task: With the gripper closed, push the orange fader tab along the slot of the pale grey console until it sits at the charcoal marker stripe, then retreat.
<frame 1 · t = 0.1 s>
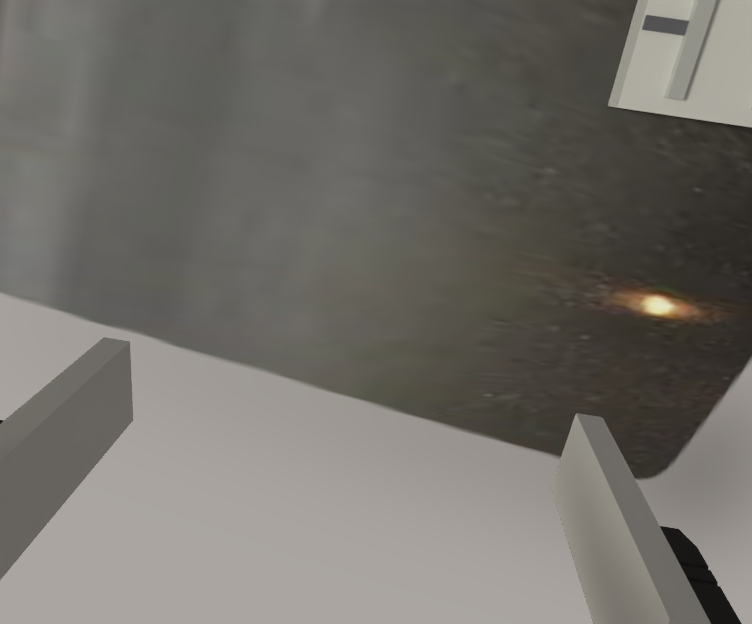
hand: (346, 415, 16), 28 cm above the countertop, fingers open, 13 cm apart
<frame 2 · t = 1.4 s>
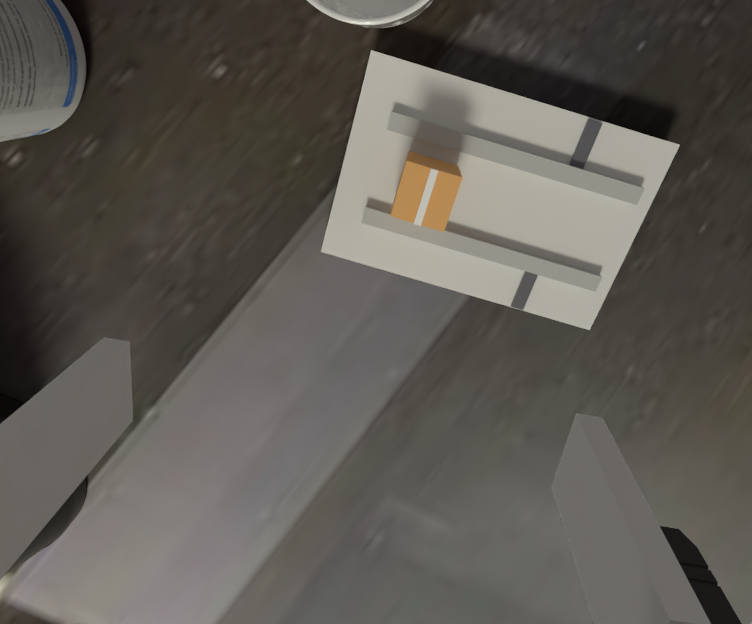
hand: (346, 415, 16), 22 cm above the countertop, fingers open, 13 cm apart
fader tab: (425, 190, 31), point 4 cm above the countertop, slide at -4.0 cm
console: (485, 194, 35), on the countertop
supplement tub: (18, 54, 34), on the countertop
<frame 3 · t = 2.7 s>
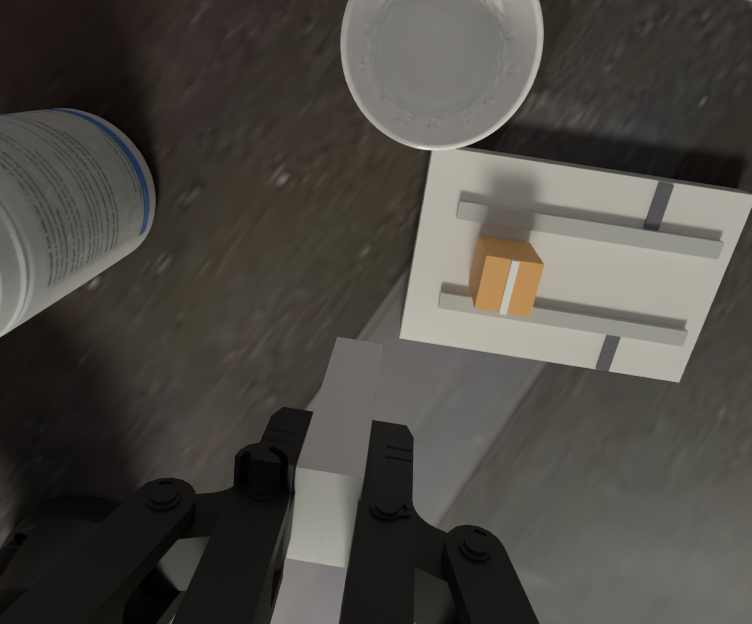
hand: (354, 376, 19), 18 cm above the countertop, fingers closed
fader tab: (503, 275, 31), point 4 cm above the countertop, slide at -4.0 cm
white cup: (434, 54, 31), on the countertop
console: (556, 261, 35), on the countertop
supplement tub: (89, 187, 36), on the countertop
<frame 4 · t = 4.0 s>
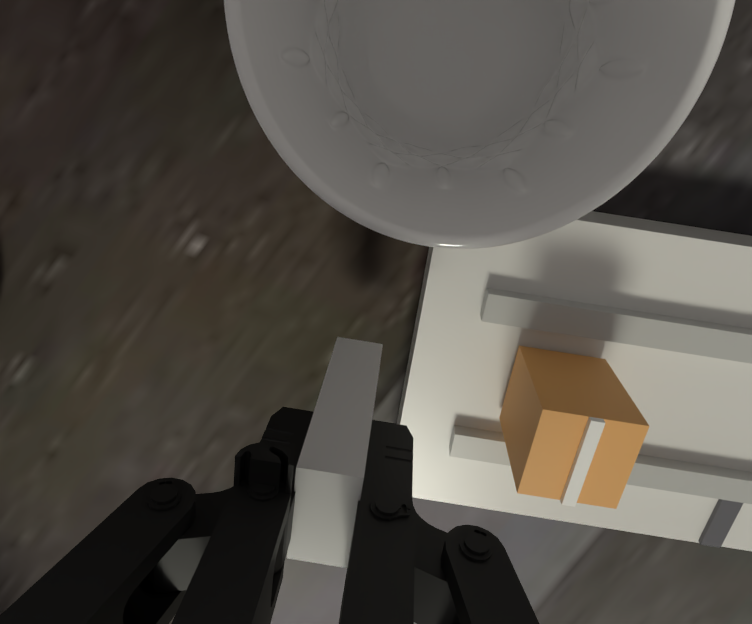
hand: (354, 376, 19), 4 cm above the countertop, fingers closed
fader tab: (564, 423, 18), point 4 cm above the countertop, slide at -4.0 cm
white cup: (444, 41, 18), on the countertop
console: (638, 375, 22), on the countertop
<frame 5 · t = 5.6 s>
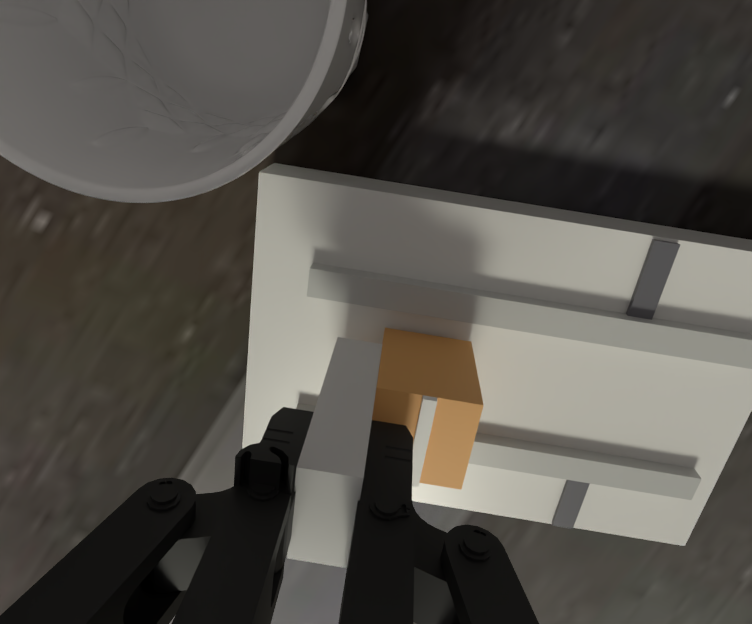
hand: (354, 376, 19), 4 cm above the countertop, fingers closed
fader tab: (420, 404, 18), point 4 cm above the countertop, slide at -2.7 cm, touching gripper
white cup: (264, 13, 18), on the countertop
console: (490, 354, 22), on the countertop
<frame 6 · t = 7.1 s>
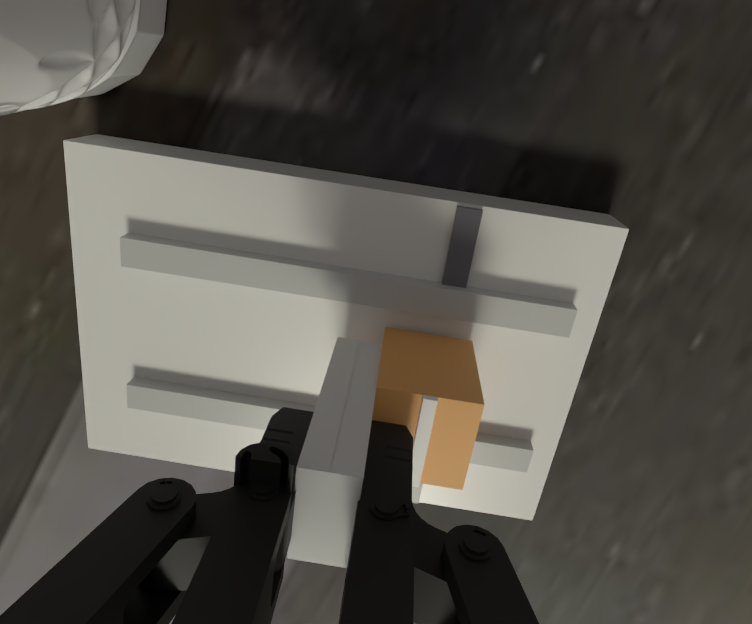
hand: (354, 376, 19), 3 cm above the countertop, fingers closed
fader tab: (421, 404, 18), point 4 cm above the countertop, slide at 3.5 cm, touching gripper
console: (332, 328, 22), on the countertop
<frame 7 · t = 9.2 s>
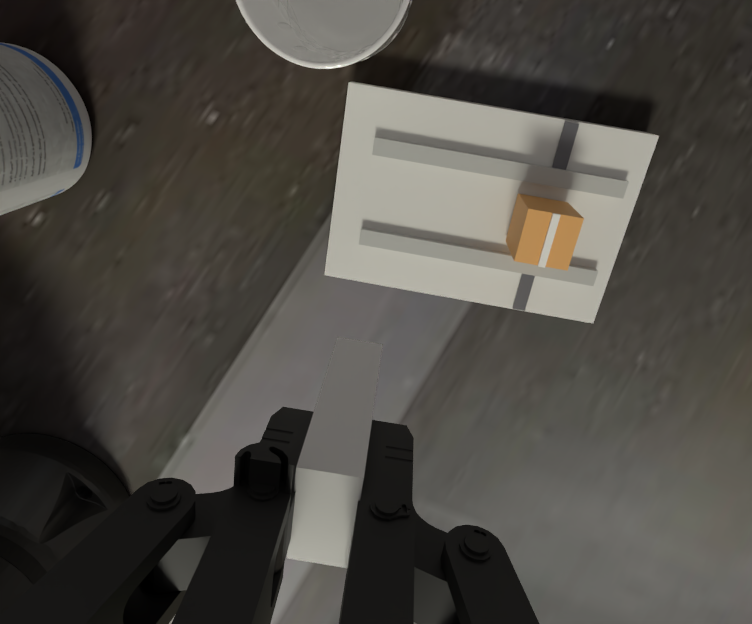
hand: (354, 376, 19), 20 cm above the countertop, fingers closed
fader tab: (542, 231, 32), point 4 cm above the countertop, slide at 3.5 cm
console: (476, 203, 36), on the countertop
supplement tub: (30, 124, 37), on the countertop
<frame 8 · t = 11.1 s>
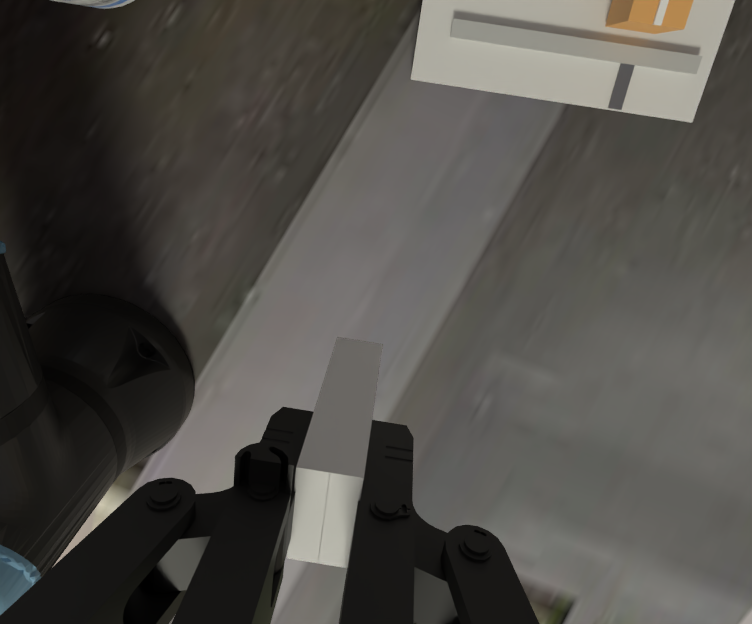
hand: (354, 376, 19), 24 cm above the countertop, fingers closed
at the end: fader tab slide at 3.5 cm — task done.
